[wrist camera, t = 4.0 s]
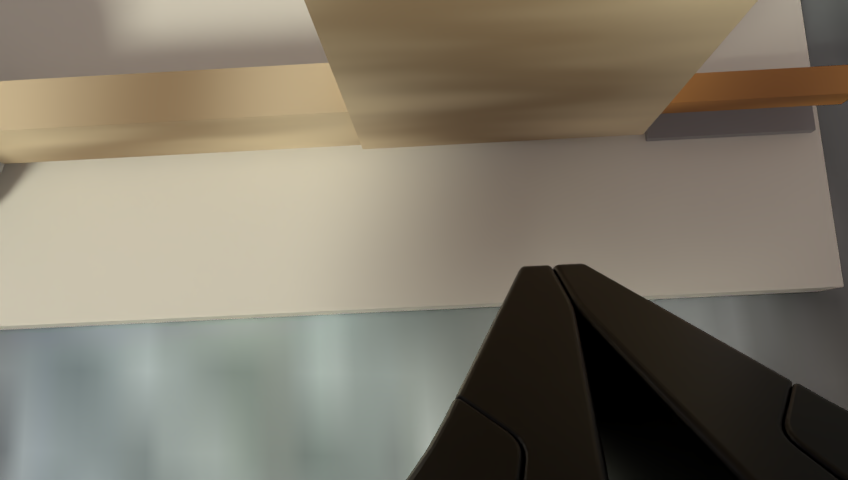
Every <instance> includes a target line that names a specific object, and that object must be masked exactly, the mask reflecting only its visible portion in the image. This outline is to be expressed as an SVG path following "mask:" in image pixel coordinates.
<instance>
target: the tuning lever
mask: <svg viewBox="0 0 848 480" xmlns="http://www.w3.org/2000/svg"><path fill="white" fill-rule="evenodd" d="M304 1H305V4H306V6H307V9H308V11H309V14H310V17H311V19H312V22H313V24H314V27H315V29H316V32H317V34H318V37H319V39H320V42H321V44H322V47H323V50H324V52H325V55H326V57H327V60H328V62H329V63H315V64H297V65H279V66H261V67H243V68H225V69H207V70H189V71H172V72H154V73H136V74H118V75H100V76H82V77H64V78H46V79H29V80H11V81H0V174H1V172H2V169H3V167H4V164H10V163H29V162H47V161H66V160H85V159H104V158H123V157H142V156H161V155H180V154H199V153H217V152H236V151H255V150H274V149H293V148H312V147H331V146H350V145H361V146H362V148H363V149H377V148H396V147H415V146H434V145H453V144H472V143H491V142H510V141H529V140H548V139H567V138H586V137H605V136H624V135H643V134H644V133H645V132H646V130H647V129H648V128H649V127H650V126H651V125H652V123H653V122H654V121H655V120H656V119H657V118H658V116H659V115H660V114H665V113H684V112H702V111H721V110H740V109H759V108H777V107H796V106H815V105H833V104H842V103H844V102H845V101H847V100H848V65H837V66H818V67H800V68H782V69H764V70H745V71H727V72H709V73H696V72H697V71H698V70H699V69H700V67H701V66H702V65H703V64H704V63H705V62H706V60H707V59H708V58H709V57H710V56H711V55H712V53H713V52H714V51H715V50H716V49H717V48H718V46H719V45H720V44H721V43H722V42H723V41H724V39H725V38H726V37H727V36H728V35H729V34H730V32H731V31H732V30H733V29H734V28H735V27H736V25H737V24H738V23H739V22H740V21H741V20H742V18H743V17H744V16H745V15H746V14H747V13H748V11H749V10H750V9H751V8H752V7H753V6H754V4H755V3H756V2H757V1H758V0H304Z"/></svg>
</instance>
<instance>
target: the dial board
mask: <svg viewBox="0 0 848 480" xmlns="http://www.w3.org/2000/svg"><path fill="white" fill-rule="evenodd" d="M315 63H329V62H328V60H327V57H326V55H325V52H324V50H323V47H322V44H321V42H320V39H319V37H318V34H317V32H316V29H315V27H314V24H313V22H312V19H311V17H310V14H309V11H308V9H307V6H306V4H305V1H304V0H0V81H11V80H29V79H46V78H64V77H82V76H100V75H118V74H136V73H154V72H172V71H189V70H207V69H225V68H243V67H261V66H279V65H297V64H315ZM800 67H810V61H809V54H808V48H807V41H806V35H805V28H804V21H803V15H802V8H801V2H800V0H758V1H757V2H756V3H755V4H754V6H753V7H752V8H751V9H750V10H749V11H748V13H747V14H746V15H745V16H744V17H743V18H742V20H741V21H740V22H739V23H738V24H737V25H736V27H735V28H734V29H733V30H732V31H731V32H730V34H729V35H728V36H727V37H726V38H725V39H724V41H723V42H722V43H721V44H720V45H719V46H718V48H717V49H716V50H715V51H714V52H713V53H712V55H711V56H710V57H709V58H708V59H707V60H706V62H705V63H704V64H703V65H702V66H701V67H700V69H699V70H698V71H697V72H696V73H709V72H727V71H745V70H764V69H782V68H800ZM580 263H581V264H585V265H587V266H589V267H591V268H592V269H594V270H596V271H598V272H600V273H601V274H603V275H605V276H607V277H608V278H610V279H612V280H614V281H615V282H617V283H619V284H621V285H623V286H624V287H626V288H628V289H630V290H631V291H633V292H635V293H637V294H638V295H640V296H642V297H644V298H645V299H647V300H648V299H669V298H691V297H712V296H733V295H755V294H776V293H797V292H819V291H824V290H829V289H834V288H839V287H844V285H843V278H842V271H841V265H840V258H839V252H838V245H837V238H836V232H835V225H834V219H833V212H832V206H831V199H830V192H829V186H828V179H827V173H826V166H825V160H824V153H823V146H822V140H821V133H820V127H819V120H818V114H817V107H816V105H815V106H796V107H777V108H759V109H740V110H721V111H702V112H684V113H665V114H660V115H659V116H658V118H657V119H656V120H655V121H654V122H653V123H652V125H651V126H650V127H649V128H648V129H647V130H646V132H645V133H644V134H643V135H624V136H605V137H586V138H567V139H548V140H529V141H510V142H491V143H472V144H453V145H434V146H415V147H396V148H377V149H363V148H362V146H361V145H350V146H331V147H312V148H293V149H274V150H255V151H236V152H217V153H199V154H180V155H161V156H142V157H123V158H104V159H85V160H66V161H47V162H29V163H10V164H4V167H3V169H2V172H1V174H0V330H9V329H30V328H52V327H73V326H94V325H116V324H137V323H158V322H179V321H201V320H222V319H243V318H265V317H286V316H307V315H329V314H350V313H371V312H393V311H414V310H435V309H456V308H478V307H499V306H501V305H502V303H503V301H504V299H505V297H506V295H507V293H508V291H509V289H510V287H511V285H512V283H513V281H514V279H515V277H516V275H517V273H518V271H519V270H520V268H521V267H523V266H541V265H549V266H551V267H552V269H553V268H554V267H555V266H556V265H561V264H580Z"/></svg>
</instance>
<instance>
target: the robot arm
mask: <svg viewBox="0 0 848 480" xmlns="http://www.w3.org/2000/svg"><path fill="white" fill-rule="evenodd" d="M406 480H848V411H847V410H845V409H843V408H841V407H839V406H837V405H836V404H834V403H832V402H830V401H828V400H826V399H825V398H823V397H821V396H819V395H818V394H816V393H814V392H812V391H811V390H809V389H807V388H805V387H803V386H802V385H800V384H794V385H793V386H792V382H791V381H790V380H789V379H787V378H785V377H783V376H782V375H780V374H778V373H776V372H775V371H773V370H771V369H769V368H767V367H766V366H764V365H762V364H760V363H759V362H757V361H755V360H753V359H752V358H750V357H748V356H746V355H744V354H743V353H741V352H739V351H737V350H736V349H734V348H732V347H730V346H729V345H727V344H725V343H723V342H722V341H720V340H718V339H716V338H714V337H713V336H711V335H709V334H707V333H706V332H704V331H702V330H700V329H699V328H697V327H695V326H693V325H691V324H690V323H688V322H686V321H684V320H683V319H681V318H679V317H677V316H676V315H674V314H672V313H670V312H668V311H667V310H665V309H663V308H661V307H660V306H658V305H656V304H654V303H653V302H651V301H649V300H647V299H645V298H644V297H642V296H640V295H638V294H637V293H635V292H633V291H631V290H630V289H628V288H626V287H624V286H623V285H621V284H619V283H617V282H615V281H614V280H612V279H610V278H608V277H607V276H605V275H603V274H601V273H600V272H598V271H596V270H594V269H592V268H591V267H589V266H587V265H585V264H581V263H580V264H561V265H556V266H555V267H554V268H553V269H552V267H551V266H549V265H541V266H523V267H521V268H520V270H519V271H518V273H517V275H516V277H515V279H514V281H513V283H512V285H511V287H510V289H509V291H508V293H507V295H506V297H505V299H504V301H503V303H502V305H501V307H500V309H499V311H498V313H497V315H496V317H495V319H494V321H493V323H492V325H491V327H490V329H489V331H488V333H487V335H486V337H485V339H484V342H483V344H482V346H481V348H480V350H479V352H478V354H477V356H476V358H475V360H474V362H473V364H472V366H471V368H470V370H469V372H468V374H467V376H466V378H465V380H464V382H463V384H462V386H461V388H460V390H459V392H458V394H457V396H456V398H455V400H454V401H453V402H452V404H451V406H450V408H449V410H448V412H447V414H446V416H445V418H444V420H443V422H442V424H441V425H440V427H439V429H438V431H437V433H436V434H435V436H434V438H433V440H432V441H431V443H430V445H429V447H428V448H427V450H426V452H425V453H424V455H423V456H422V458H421V459H420V460H419V462H418V463H417V465H416V466H415V468H414V469H413V471H412V472H411V474H410V475H409V477H408V478H407V479H406Z"/></svg>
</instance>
